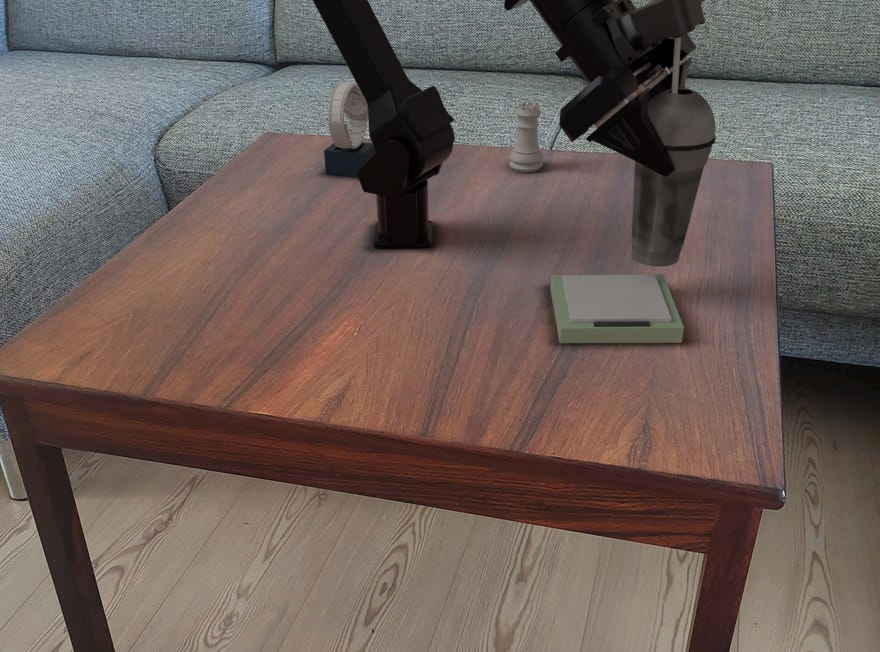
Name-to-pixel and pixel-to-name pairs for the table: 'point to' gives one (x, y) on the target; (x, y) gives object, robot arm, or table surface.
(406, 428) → the table surface
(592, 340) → the scale
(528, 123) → the rook chess piece
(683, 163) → the beverage cup
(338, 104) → the watch
